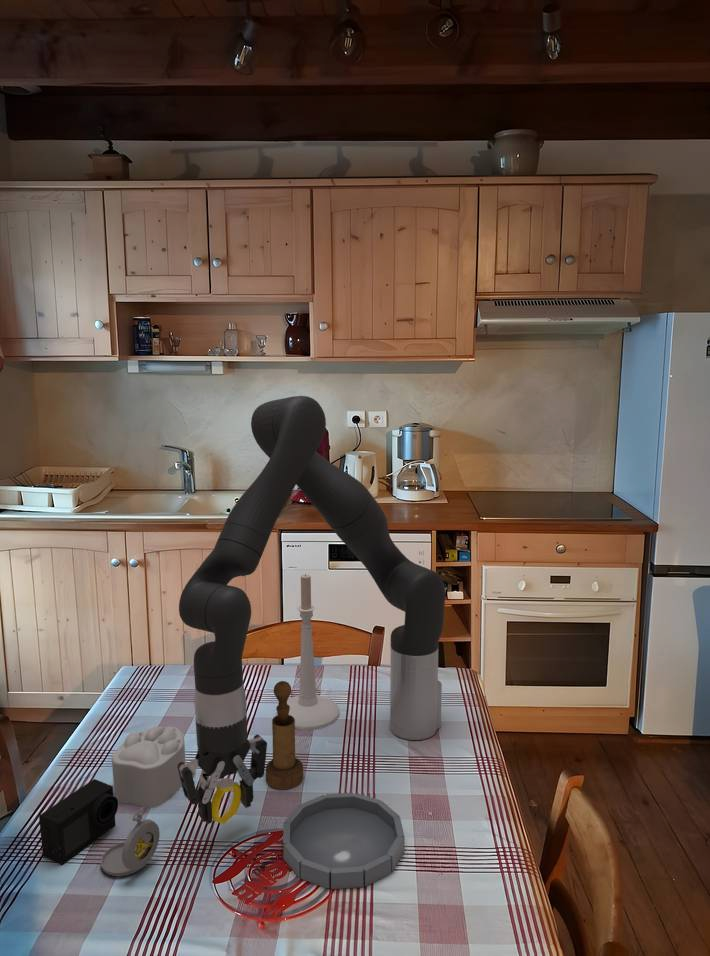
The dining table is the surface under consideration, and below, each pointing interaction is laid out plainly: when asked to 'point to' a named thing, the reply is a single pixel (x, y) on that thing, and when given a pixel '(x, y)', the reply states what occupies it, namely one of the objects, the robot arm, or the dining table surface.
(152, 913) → the dining table surface
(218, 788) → the watch
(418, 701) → the robot arm
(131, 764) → the lumpy-topped squat cylinder
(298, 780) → the mortar and pestle
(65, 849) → the digital camera
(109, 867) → the pocket watch
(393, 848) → the round dish
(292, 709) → the candlestick
